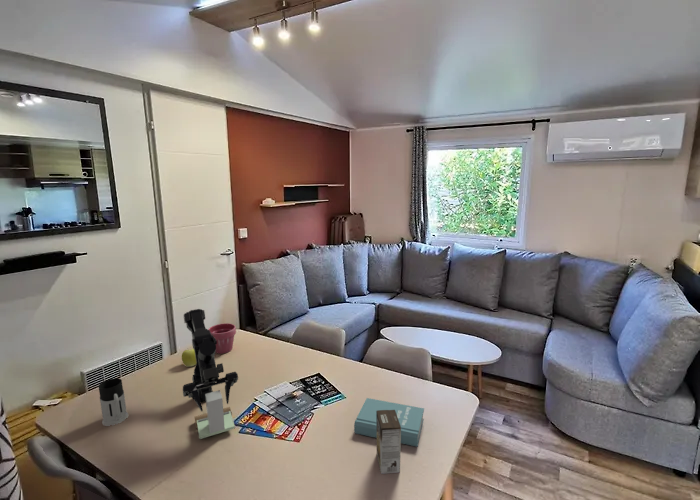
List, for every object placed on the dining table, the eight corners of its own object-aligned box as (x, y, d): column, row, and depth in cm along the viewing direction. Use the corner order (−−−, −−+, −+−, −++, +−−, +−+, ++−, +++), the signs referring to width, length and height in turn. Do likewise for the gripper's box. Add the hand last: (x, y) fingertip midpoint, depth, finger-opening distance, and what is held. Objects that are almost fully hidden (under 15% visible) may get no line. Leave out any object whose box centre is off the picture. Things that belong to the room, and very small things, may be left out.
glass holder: (125, 408, 149) (120, 375, 146) (135, 424, 139) (130, 388, 136) (99, 418, 143) (94, 383, 140) (108, 436, 133) (102, 398, 130)
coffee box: (375, 453, 123) (375, 409, 120) (394, 451, 123) (395, 408, 120) (380, 474, 114) (380, 428, 111) (400, 472, 114) (401, 426, 111)
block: (207, 424, 134) (205, 393, 130) (222, 420, 136) (219, 390, 133) (209, 433, 129) (207, 402, 126) (224, 429, 132) (222, 398, 128)
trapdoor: (196, 422, 136) (196, 419, 136) (230, 413, 141) (230, 410, 141) (199, 439, 128) (199, 436, 128) (234, 428, 134) (234, 425, 133)
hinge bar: (195, 422, 140) (194, 416, 139) (230, 412, 146) (229, 406, 145) (196, 428, 136) (195, 422, 136) (232, 418, 142) (231, 412, 142)
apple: (198, 366, 181) (190, 348, 179) (183, 371, 181) (175, 353, 179) (204, 358, 188) (197, 341, 187) (190, 363, 189) (182, 346, 187)
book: (423, 420, 140) (424, 408, 139) (417, 448, 125) (417, 435, 124) (366, 409, 147) (366, 397, 146) (354, 435, 132) (354, 422, 132)
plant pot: (204, 355, 195) (202, 332, 192) (218, 343, 208) (216, 322, 206) (229, 356, 192) (227, 334, 190) (241, 345, 206) (240, 323, 204)
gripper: (180, 364, 127) (186, 409, 119) (235, 351, 136) (244, 393, 128) (180, 374, 135) (186, 418, 128) (232, 362, 144) (240, 401, 137)
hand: (215, 407), depth 130 cm, fingers open, 8 cm apart
